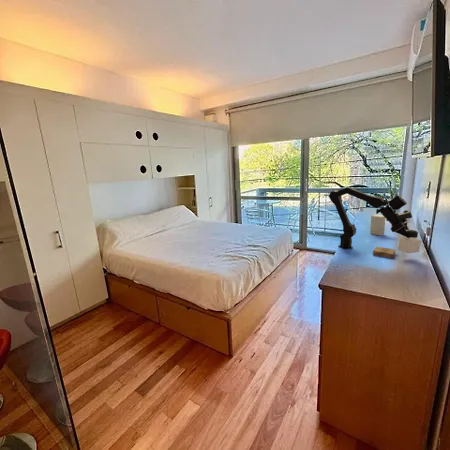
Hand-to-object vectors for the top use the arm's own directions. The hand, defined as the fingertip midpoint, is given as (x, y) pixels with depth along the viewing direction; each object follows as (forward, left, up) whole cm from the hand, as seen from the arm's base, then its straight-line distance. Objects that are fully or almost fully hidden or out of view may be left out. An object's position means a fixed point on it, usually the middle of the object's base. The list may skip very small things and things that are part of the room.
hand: (410, 236), depth 139 cm
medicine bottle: (0, 0, -9) cm, 9 cm away
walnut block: (-6, +10, -14) cm, 18 cm away
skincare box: (+28, +44, -13) cm, 54 cm away
